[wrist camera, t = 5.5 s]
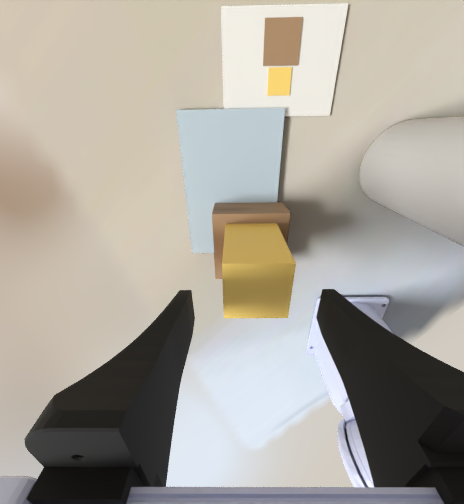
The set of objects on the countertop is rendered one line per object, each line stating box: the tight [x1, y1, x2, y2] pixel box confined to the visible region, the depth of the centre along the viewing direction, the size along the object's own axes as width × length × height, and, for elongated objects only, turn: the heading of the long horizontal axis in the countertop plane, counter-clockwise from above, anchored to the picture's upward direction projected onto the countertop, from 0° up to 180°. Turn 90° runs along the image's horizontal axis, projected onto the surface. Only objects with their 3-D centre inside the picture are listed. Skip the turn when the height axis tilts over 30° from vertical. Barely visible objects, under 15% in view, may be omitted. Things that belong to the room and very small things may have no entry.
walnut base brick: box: [212, 202, 291, 279], centre depth 20 cm, size 6×6×3 cm
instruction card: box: [221, 3, 348, 116], centre depth 15 cm, size 6×8×1 cm
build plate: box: [176, 108, 285, 253], centre depth 19 cm, size 12×8×1 cm, turn 1°
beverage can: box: [359, 116, 464, 246], centre depth 13 cm, size 6×6×12 cm
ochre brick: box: [222, 223, 296, 318], centre depth 16 cm, size 4×4×6 cm
